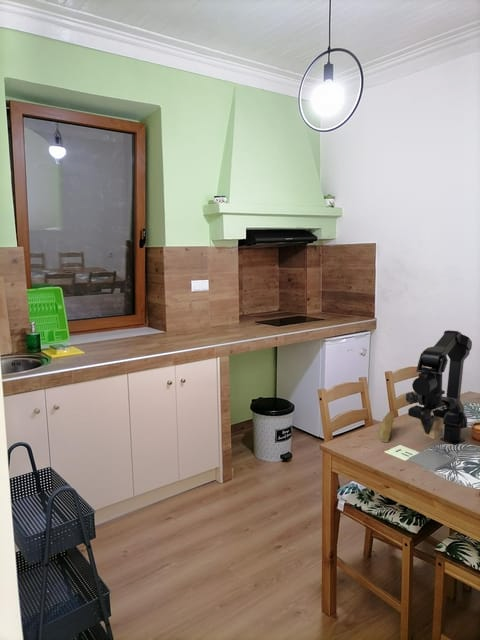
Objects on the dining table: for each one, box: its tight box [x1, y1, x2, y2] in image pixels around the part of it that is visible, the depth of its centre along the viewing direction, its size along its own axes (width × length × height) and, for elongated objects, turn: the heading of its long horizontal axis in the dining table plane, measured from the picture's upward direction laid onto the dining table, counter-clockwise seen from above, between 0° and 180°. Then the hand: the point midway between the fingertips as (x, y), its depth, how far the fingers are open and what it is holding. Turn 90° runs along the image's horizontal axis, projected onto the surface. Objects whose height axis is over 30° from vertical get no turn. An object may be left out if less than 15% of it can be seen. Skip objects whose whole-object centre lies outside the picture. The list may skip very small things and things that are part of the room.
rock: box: [378, 411, 396, 443], centre depth 177 cm, size 11×9×10 cm
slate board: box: [408, 448, 455, 472], centre depth 157 cm, size 11×10×1 cm
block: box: [420, 414, 444, 440], centre depth 155 cm, size 5×5×6 cm
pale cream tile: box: [384, 444, 421, 462], centre depth 164 cm, size 9×9×1 cm
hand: (431, 431), depth 155 cm, fingers closed on block, 5 cm apart
